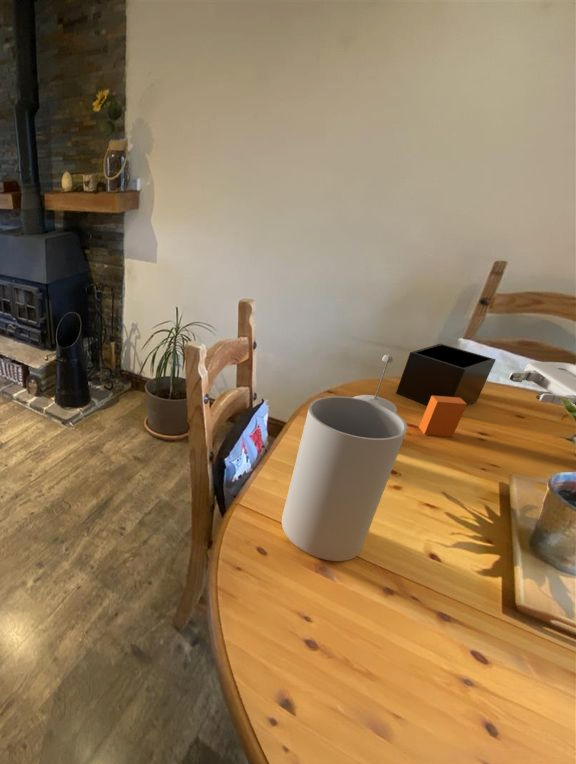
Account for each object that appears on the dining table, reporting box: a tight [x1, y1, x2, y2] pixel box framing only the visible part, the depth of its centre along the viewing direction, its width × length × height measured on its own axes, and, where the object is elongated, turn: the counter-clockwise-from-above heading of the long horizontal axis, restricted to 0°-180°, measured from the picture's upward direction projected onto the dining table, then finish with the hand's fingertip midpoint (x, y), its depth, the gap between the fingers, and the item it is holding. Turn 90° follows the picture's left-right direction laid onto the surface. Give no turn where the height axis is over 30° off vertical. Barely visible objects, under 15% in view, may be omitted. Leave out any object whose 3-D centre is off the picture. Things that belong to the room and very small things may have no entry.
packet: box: [418, 396, 467, 438], centre depth 97 cm, size 6×3×9 cm, turn 73°
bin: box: [395, 343, 497, 407], centre depth 110 cm, size 12×12×13 cm
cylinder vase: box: [281, 395, 408, 562], centre depth 69 cm, size 12×12×25 cm
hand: (524, 386), depth 89 cm, fingers open, 8 cm apart
